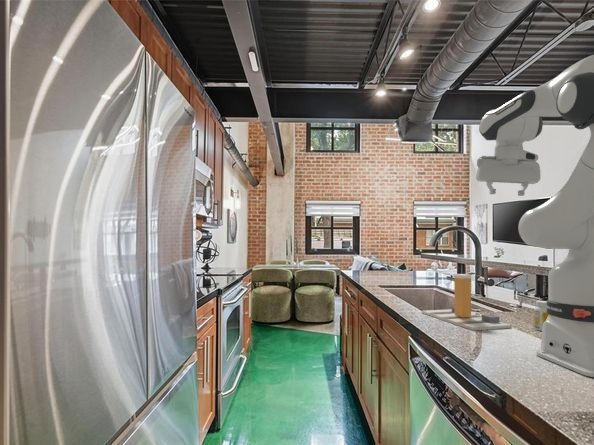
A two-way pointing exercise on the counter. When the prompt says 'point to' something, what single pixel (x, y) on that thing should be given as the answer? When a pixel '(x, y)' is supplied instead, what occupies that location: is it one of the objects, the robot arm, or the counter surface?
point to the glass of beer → (462, 295)
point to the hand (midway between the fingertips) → (506, 194)
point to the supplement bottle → (540, 315)
